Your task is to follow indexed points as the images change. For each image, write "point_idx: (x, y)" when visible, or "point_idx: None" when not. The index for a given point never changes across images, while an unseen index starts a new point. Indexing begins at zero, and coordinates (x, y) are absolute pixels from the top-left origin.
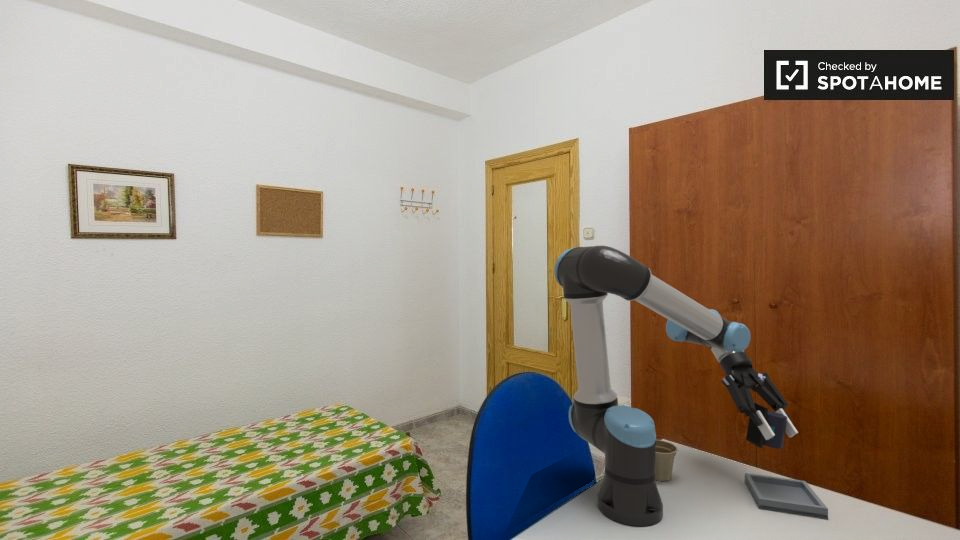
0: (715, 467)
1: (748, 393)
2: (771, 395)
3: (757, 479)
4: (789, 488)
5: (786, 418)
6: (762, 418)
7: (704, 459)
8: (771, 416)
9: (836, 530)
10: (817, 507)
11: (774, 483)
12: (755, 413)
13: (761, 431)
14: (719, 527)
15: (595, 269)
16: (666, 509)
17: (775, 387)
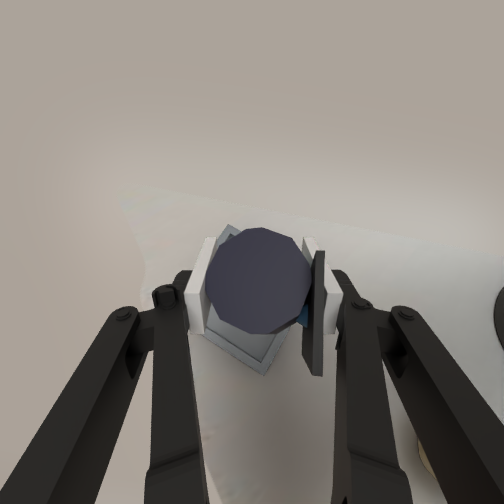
0: (275, 460)
1: (371, 393)
2: (170, 363)
3: (248, 354)
4: (209, 313)
5: (232, 239)
6: (328, 270)
7: None
8: (299, 250)
9: (245, 207)
10: (240, 231)
11: (221, 336)
12: (346, 297)
13: None
14: (416, 248)
15: None
16: (482, 313)
17: (41, 433)
